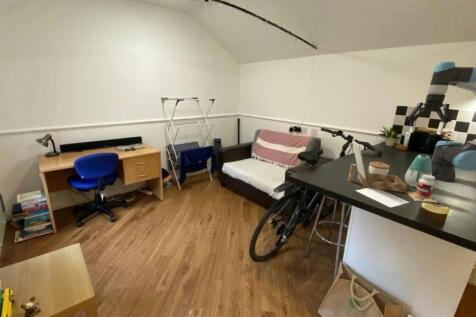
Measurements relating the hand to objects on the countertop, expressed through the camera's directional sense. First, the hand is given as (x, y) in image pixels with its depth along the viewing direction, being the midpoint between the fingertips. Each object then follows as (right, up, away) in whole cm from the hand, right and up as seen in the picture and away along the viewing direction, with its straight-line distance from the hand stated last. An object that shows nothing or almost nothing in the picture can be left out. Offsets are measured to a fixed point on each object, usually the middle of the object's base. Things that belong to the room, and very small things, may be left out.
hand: (424, 133), depth 127 cm
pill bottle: (-13, -33, -14) cm, 38 cm away
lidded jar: (-19, -25, +13) cm, 34 cm away
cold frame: (-28, -28, +1) cm, 40 cm away
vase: (-4, -30, +2) cm, 30 cm away
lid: (-37, -14, -1) cm, 40 cm away
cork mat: (-13, -34, -13) cm, 38 cm away
